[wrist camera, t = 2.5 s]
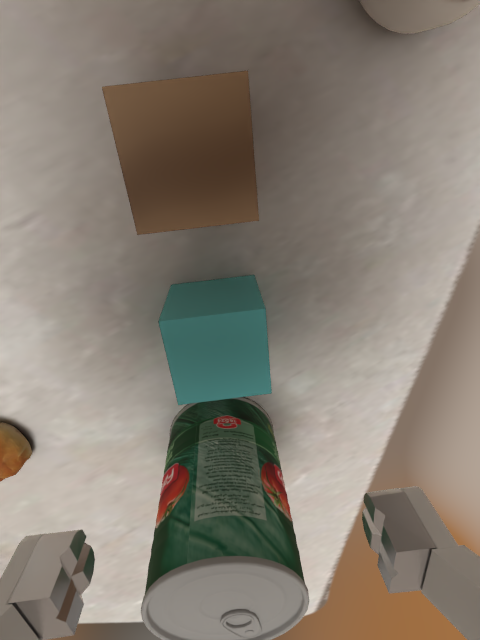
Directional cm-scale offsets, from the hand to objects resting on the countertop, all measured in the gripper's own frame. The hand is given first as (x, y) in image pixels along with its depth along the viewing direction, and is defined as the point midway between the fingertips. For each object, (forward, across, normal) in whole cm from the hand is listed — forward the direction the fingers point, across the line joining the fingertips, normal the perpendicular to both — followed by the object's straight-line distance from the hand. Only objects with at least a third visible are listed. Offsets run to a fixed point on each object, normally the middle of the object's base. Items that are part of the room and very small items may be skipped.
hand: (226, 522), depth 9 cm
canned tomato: (+13, +1, +9) cm, 16 cm away
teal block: (+13, 0, -1) cm, 13 cm away
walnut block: (+13, 0, -10) cm, 16 cm away
